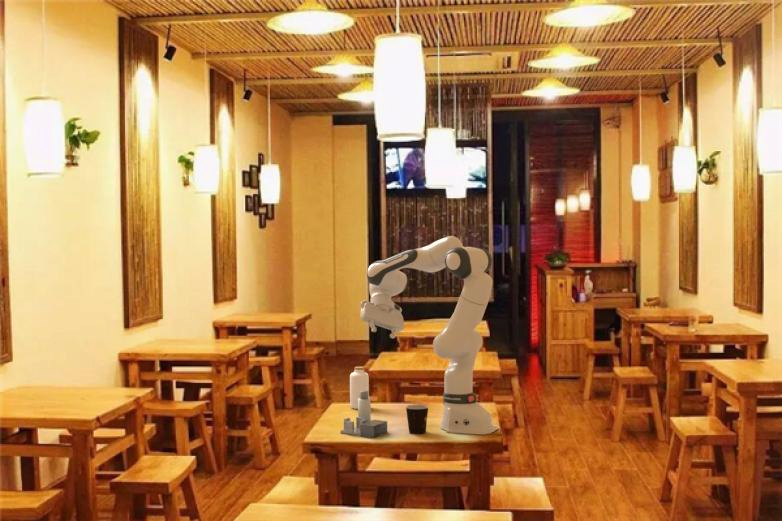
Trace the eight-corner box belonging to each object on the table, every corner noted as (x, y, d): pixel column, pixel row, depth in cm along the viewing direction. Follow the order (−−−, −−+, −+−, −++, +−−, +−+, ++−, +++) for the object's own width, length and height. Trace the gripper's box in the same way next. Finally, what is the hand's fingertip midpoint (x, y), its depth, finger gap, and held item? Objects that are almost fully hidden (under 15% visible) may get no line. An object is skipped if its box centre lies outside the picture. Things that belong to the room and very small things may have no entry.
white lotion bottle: (373, 425, 353) (372, 390, 352) (366, 427, 348) (366, 392, 348) (362, 424, 355) (362, 389, 355) (355, 426, 351) (355, 391, 350)
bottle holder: (387, 432, 340) (387, 419, 339) (374, 438, 331) (373, 424, 331) (352, 428, 347) (352, 415, 347) (339, 433, 339) (338, 420, 339)
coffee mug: (415, 429, 345) (415, 403, 345) (433, 432, 340) (432, 406, 340) (396, 434, 336) (396, 408, 336) (414, 437, 331) (414, 411, 331)
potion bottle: (360, 410, 382) (360, 369, 382) (346, 408, 387) (345, 367, 387) (372, 407, 389) (372, 366, 388) (358, 405, 394) (357, 365, 393)
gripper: (365, 295, 360) (367, 323, 351) (404, 309, 370) (407, 337, 362) (356, 303, 364) (358, 331, 355) (395, 316, 374) (398, 344, 366)
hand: (383, 334), depth 359 cm, fingers open, 8 cm apart
